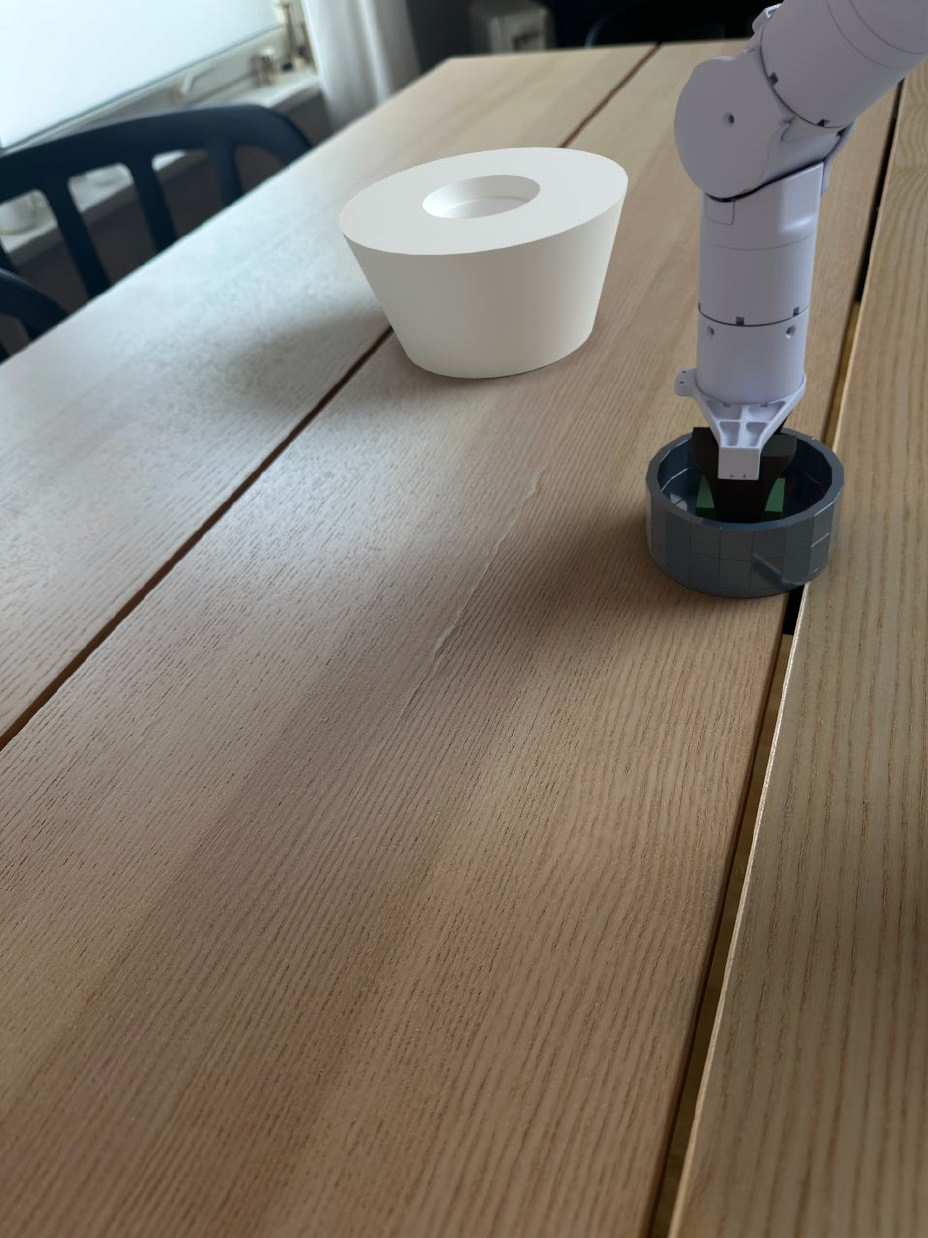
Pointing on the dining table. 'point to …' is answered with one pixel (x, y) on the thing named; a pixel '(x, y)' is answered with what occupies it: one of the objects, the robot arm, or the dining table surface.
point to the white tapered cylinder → (489, 255)
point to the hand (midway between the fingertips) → (740, 512)
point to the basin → (744, 525)
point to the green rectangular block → (771, 512)
